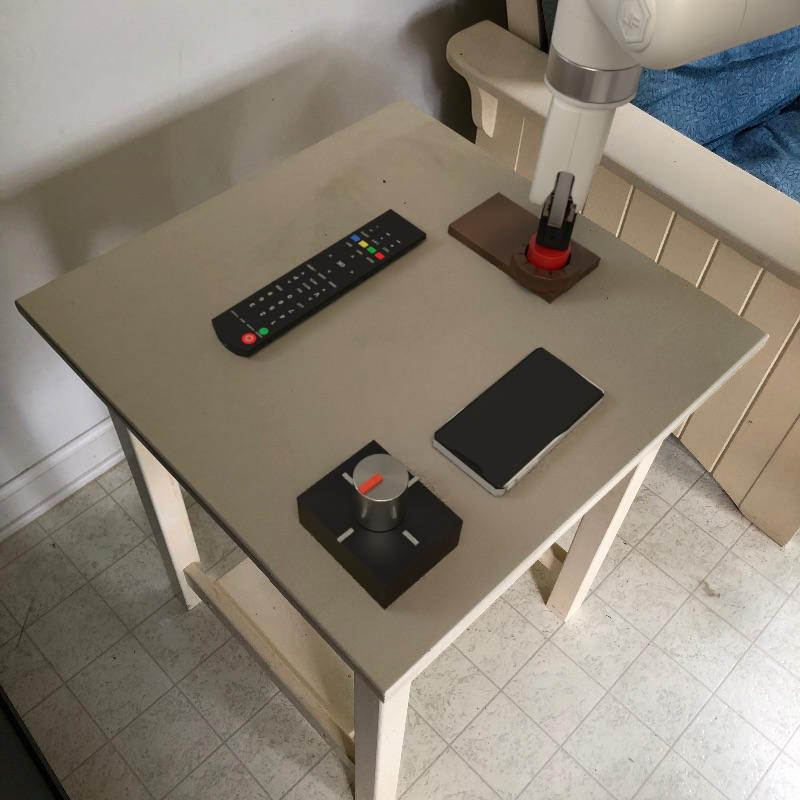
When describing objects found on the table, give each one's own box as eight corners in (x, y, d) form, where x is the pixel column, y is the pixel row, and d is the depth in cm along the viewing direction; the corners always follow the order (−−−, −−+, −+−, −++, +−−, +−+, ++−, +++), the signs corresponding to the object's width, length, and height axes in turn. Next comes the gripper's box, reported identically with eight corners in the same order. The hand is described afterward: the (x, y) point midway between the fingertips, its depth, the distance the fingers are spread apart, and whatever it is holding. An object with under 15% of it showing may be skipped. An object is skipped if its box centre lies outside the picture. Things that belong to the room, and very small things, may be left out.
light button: (575, 258, 82) (579, 245, 81) (550, 277, 80) (553, 264, 79) (544, 238, 84) (547, 224, 82) (518, 256, 82) (521, 243, 81)
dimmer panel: (459, 544, 65) (464, 518, 62) (383, 611, 62) (384, 587, 58) (373, 465, 69) (374, 437, 66) (298, 523, 66) (294, 496, 63)
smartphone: (609, 393, 74) (501, 493, 67) (605, 401, 75) (499, 501, 68) (538, 344, 77) (429, 434, 70) (536, 352, 78) (427, 442, 71)
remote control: (425, 243, 86) (426, 233, 85) (243, 364, 75) (242, 354, 74) (390, 218, 88) (390, 208, 87) (208, 332, 78) (206, 322, 77)
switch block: (602, 268, 85) (609, 246, 83) (547, 311, 81) (553, 289, 79) (497, 200, 91) (500, 178, 89) (441, 237, 87) (443, 215, 85)
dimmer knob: (381, 476, 64) (382, 441, 60) (416, 510, 62) (420, 476, 59) (342, 506, 62) (341, 472, 58) (377, 542, 61) (379, 509, 57)
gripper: (564, 14, 71) (530, 188, 85) (528, 108, 62) (497, 284, 76) (652, 30, 70) (602, 204, 84) (628, 128, 61) (577, 304, 75)
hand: (552, 242), depth 80 cm, fingers closed
